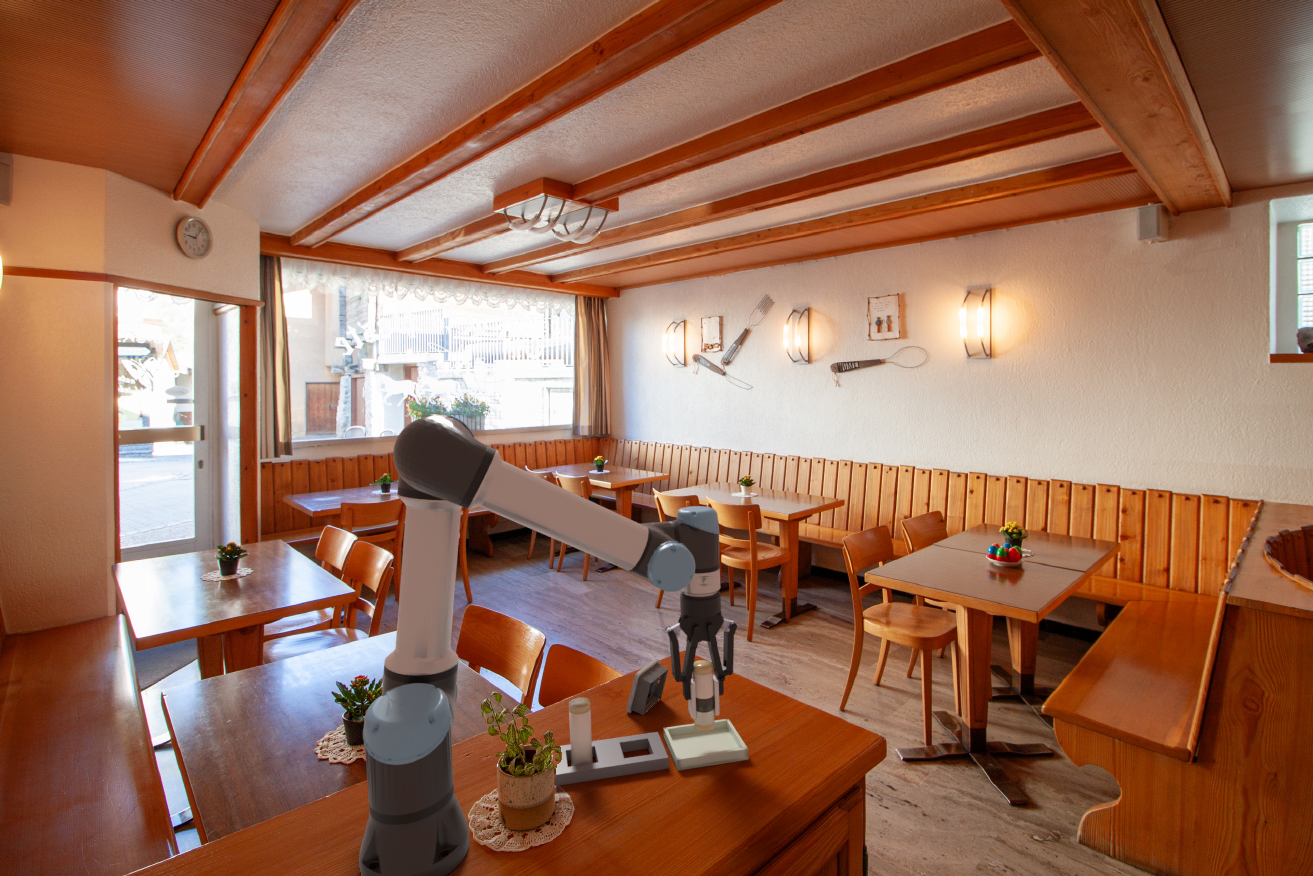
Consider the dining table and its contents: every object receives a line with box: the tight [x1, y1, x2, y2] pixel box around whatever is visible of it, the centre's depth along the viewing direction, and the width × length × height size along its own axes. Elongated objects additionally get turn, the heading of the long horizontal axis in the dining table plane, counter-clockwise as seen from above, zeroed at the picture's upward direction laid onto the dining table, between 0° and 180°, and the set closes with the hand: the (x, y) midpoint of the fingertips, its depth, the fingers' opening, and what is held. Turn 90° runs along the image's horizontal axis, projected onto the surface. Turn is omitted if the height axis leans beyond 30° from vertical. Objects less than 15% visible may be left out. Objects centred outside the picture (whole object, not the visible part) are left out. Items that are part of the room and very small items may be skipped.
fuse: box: [568, 697, 594, 767], centre depth 115 cm, size 4×4×12 cm
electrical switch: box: [626, 657, 669, 716], centre depth 136 cm, size 9×5×9 cm, turn 151°
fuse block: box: [554, 731, 670, 787], centre depth 116 cm, size 20×9×2 cm, turn 102°
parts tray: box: [663, 718, 749, 772], centre depth 120 cm, size 13×11×2 cm
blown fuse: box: [692, 659, 715, 732], centre depth 119 cm, size 4×4×12 cm
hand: (703, 713), depth 119 cm, fingers closed on blown fuse, 4 cm apart
